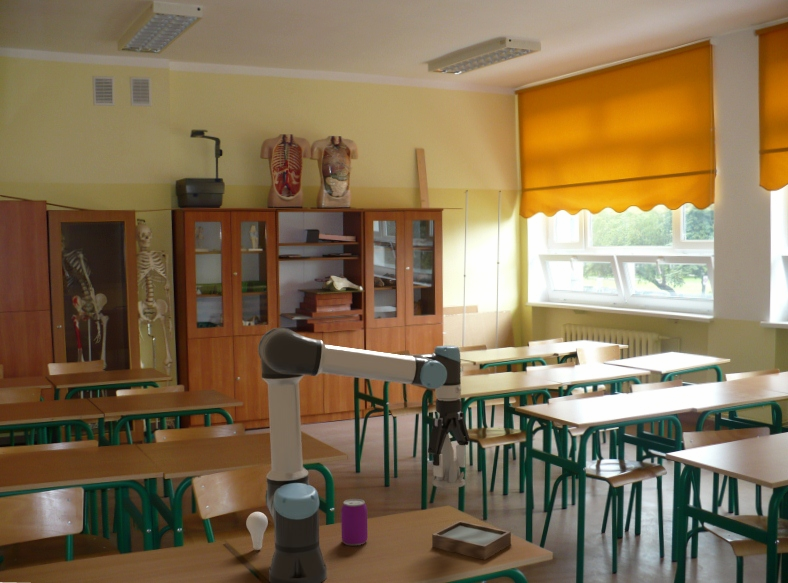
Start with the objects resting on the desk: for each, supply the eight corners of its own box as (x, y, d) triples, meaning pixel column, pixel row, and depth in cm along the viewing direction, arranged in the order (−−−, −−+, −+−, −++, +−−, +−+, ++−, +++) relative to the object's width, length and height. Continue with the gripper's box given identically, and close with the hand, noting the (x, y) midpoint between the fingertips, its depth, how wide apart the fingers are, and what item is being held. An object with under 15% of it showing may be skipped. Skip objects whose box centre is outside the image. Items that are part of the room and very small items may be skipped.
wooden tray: (432, 546, 228) (432, 534, 228) (459, 532, 240) (459, 520, 240) (484, 559, 218) (484, 546, 217) (510, 544, 229) (510, 531, 229)
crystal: (436, 490, 225) (435, 438, 225) (428, 478, 238) (427, 429, 238) (470, 489, 226) (469, 437, 226) (461, 477, 240) (460, 427, 239)
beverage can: (342, 547, 229) (341, 506, 229) (341, 538, 237) (340, 498, 237) (368, 546, 230) (367, 505, 230) (366, 537, 238) (366, 497, 237)
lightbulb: (242, 551, 227) (241, 513, 227) (255, 544, 232) (254, 507, 232) (259, 555, 224) (258, 516, 224) (272, 548, 230) (271, 510, 229)
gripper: (436, 406, 220) (438, 482, 221) (480, 393, 240) (481, 464, 240) (414, 403, 224) (416, 478, 225) (458, 391, 244) (460, 460, 245)
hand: (449, 471), depth 233 cm, fingers closed on crystal, 12 cm apart
